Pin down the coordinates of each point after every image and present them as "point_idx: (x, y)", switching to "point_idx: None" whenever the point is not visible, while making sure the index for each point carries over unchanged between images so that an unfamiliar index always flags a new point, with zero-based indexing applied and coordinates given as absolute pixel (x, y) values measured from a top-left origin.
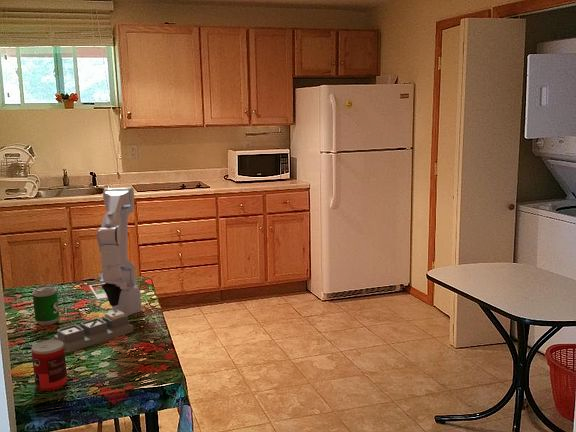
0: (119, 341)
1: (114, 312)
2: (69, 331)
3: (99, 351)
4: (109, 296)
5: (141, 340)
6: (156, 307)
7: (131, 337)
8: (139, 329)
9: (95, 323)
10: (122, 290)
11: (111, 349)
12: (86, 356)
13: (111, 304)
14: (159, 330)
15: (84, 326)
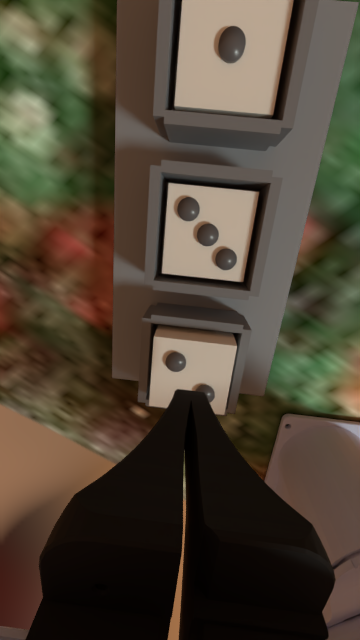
0: (71, 271)
1: (202, 382)
2: (228, 30)
3: (31, 141)
4: (175, 437)
5: (19, 329)
6: None
7: (73, 325)
8: (120, 388)
9: (208, 249)
10: (340, 570)
11: (16, 195)
12: (18, 52)
13: (178, 394)
14: (58, 419)
15: (215, 166)
